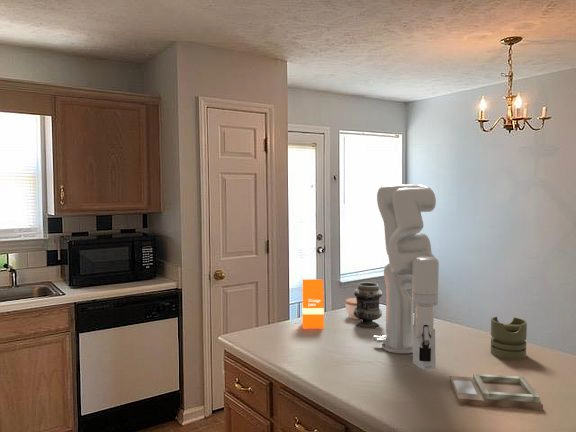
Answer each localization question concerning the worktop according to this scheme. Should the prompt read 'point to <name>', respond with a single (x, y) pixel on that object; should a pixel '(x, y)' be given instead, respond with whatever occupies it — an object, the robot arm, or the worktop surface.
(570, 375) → the worktop surface
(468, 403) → the framed base plate
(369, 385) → the worktop surface
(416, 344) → the skincare box
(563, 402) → the worktop surface
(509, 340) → the piston
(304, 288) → the orange juice
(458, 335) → the worktop surface
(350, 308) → the lidded jar
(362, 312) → the dark stone vase
